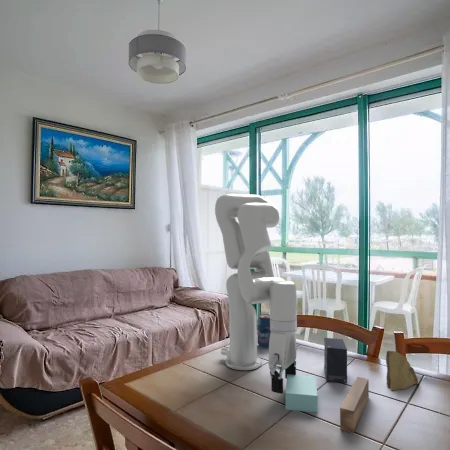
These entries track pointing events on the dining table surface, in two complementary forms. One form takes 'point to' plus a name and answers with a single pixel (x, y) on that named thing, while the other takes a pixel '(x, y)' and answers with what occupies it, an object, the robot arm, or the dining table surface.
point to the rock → (399, 371)
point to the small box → (335, 360)
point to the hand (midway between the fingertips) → (284, 385)
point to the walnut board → (354, 405)
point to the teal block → (301, 393)
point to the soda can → (263, 330)
